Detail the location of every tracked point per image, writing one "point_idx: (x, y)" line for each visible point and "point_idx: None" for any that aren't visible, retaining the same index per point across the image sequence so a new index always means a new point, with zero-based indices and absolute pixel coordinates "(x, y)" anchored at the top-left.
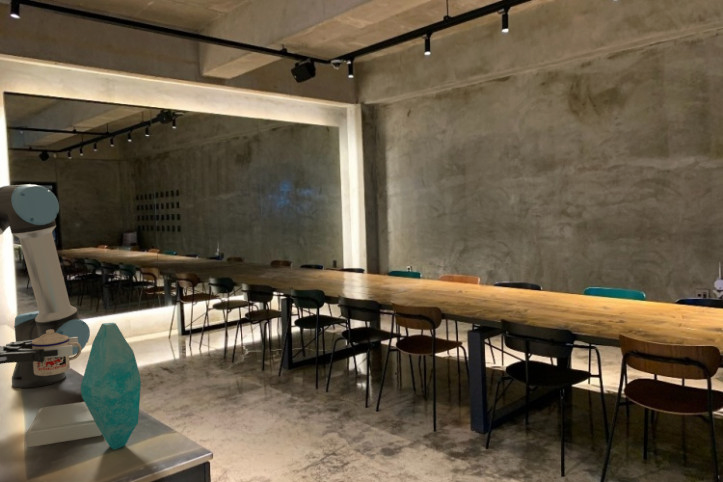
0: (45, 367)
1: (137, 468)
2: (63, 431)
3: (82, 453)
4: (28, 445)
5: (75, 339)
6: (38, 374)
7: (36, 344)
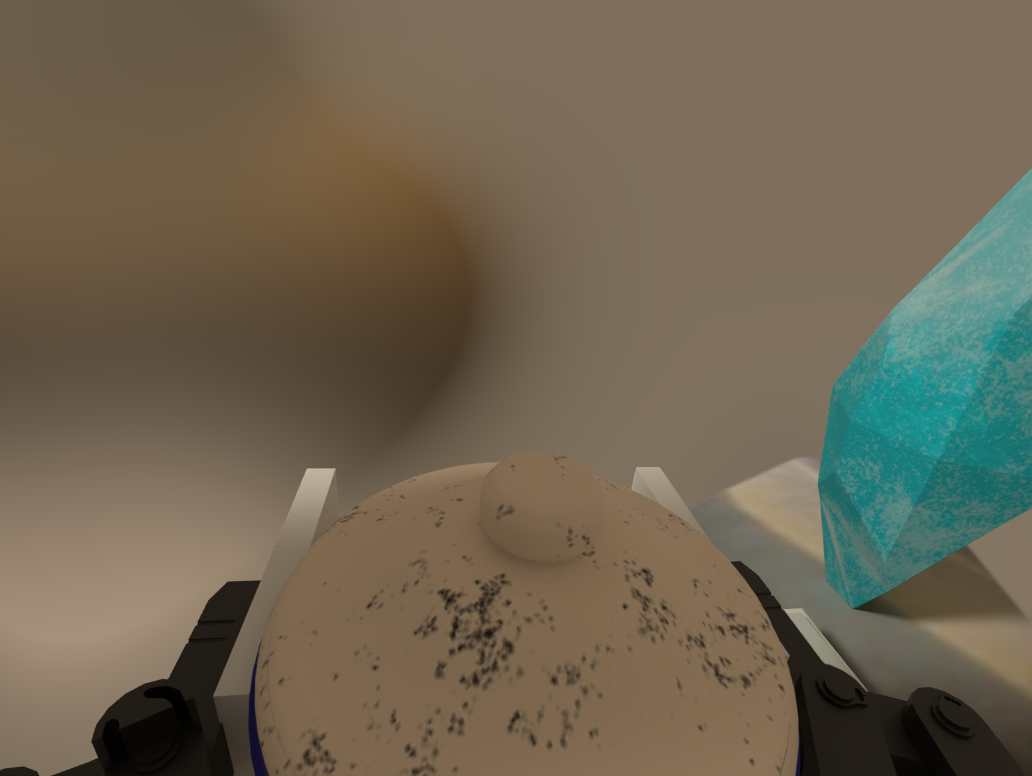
0: None
1: None
2: None
3: (937, 680)
4: None
5: (332, 494)
6: None
7: (795, 750)
